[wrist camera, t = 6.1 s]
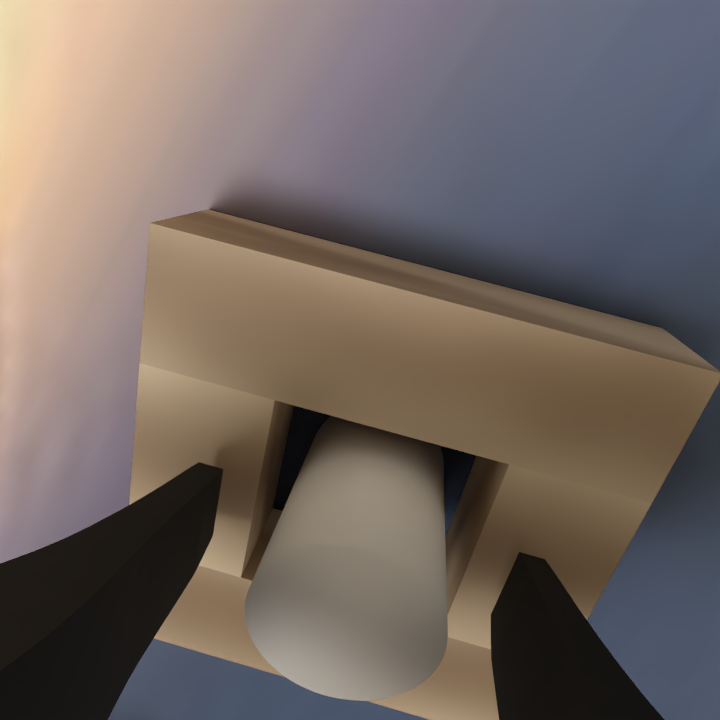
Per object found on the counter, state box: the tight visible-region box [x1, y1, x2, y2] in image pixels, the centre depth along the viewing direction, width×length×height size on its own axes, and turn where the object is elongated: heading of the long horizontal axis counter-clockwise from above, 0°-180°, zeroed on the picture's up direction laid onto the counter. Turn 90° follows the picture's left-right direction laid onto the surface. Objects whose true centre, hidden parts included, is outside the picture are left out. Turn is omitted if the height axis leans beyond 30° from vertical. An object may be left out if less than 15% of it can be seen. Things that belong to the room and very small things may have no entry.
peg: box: [244, 416, 448, 701], centre depth 13 cm, size 4×4×6 cm
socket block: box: [129, 209, 720, 720], centre depth 14 cm, size 12×12×3 cm
